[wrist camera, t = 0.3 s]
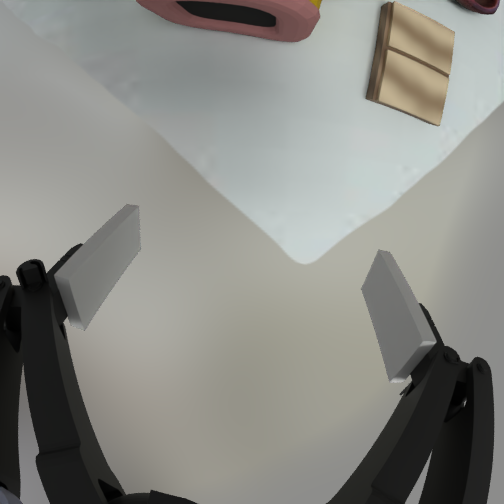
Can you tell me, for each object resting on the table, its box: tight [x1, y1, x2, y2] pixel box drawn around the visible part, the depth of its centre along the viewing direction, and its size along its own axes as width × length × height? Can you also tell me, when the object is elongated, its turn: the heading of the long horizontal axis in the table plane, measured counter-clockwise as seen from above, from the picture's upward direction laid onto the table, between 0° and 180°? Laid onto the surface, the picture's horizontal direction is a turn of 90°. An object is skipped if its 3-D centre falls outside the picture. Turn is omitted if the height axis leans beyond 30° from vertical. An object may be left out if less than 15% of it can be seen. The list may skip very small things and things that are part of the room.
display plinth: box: [366, 1, 455, 126], centre depth 27 cm, size 16×11×4 cm
